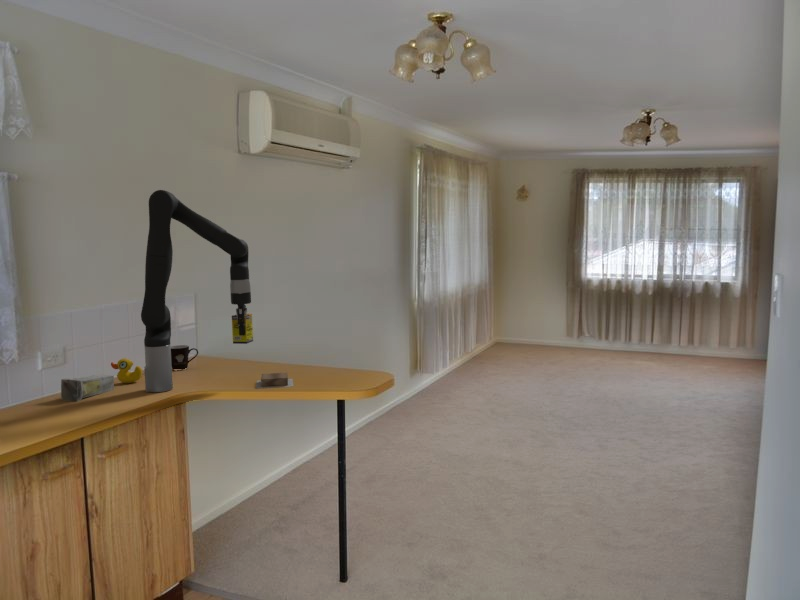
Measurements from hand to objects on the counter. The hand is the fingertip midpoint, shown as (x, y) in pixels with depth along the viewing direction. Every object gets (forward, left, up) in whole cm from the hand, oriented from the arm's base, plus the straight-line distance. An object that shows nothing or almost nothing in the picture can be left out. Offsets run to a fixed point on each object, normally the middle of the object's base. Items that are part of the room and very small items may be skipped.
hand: (242, 333), depth 245 cm
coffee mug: (-29, +40, -21) cm, 53 cm away
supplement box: (0, 0, -4) cm, 4 cm away
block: (-56, 0, -21) cm, 60 cm away
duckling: (-47, +17, -21) cm, 54 cm away
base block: (+11, -1, -20) cm, 23 cm away
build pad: (+11, -1, -20) cm, 23 cm away
